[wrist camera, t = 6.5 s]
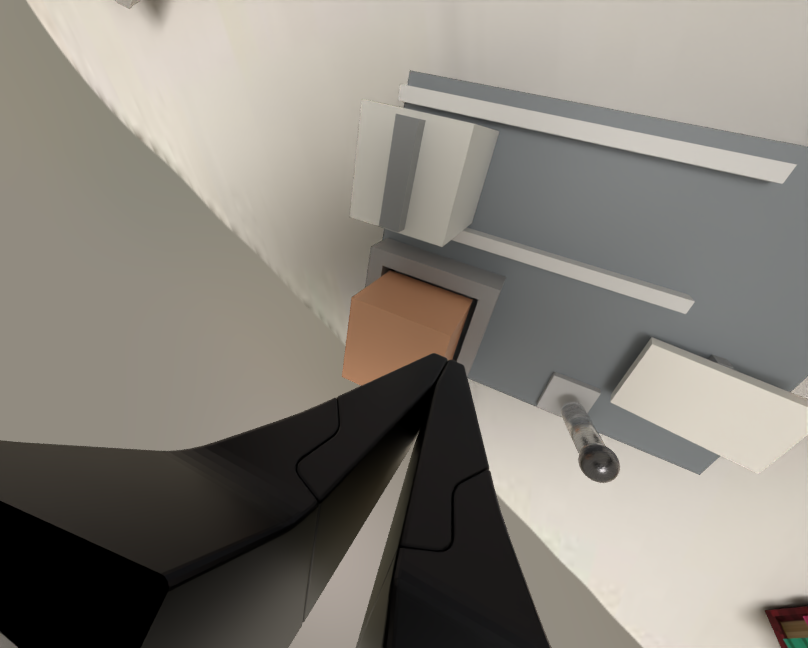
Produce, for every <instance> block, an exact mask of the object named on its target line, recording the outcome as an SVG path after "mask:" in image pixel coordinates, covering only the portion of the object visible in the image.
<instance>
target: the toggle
mask: <svg viewBox="0 0 808 648" xmlns="http://www.w3.org/2000/svg"><path fill="white" fill-rule="evenodd" d="M561 416H562V418H563V420H564V422H565V425H566V427H567V429H568V431H569V433H570V435H571V438H572V440H573V442H574V444H575V446H576V449H577V451H578V453H579V458H578V461H579V466H580V468H581V470H582V472H583V473H584V474H585V475H586V476H587V477H588V478H590V479H591V480H593V481H596V482H600V483H606V482H610V481H612V480H614V479H615V478H616V477H617V476H618V474H619V470H620V464H619V460H618V458H617V456H616V455H615V453H614V452H613V451H612V450H610V449H609V448H607V447H606V446H605V444H604V443H603V441H602V439H601V437H600V435H599V433H598V432H597V430H596V428H595V426H594V424H593V423H592V421H591V419H590V417H589V415H588V413H587V412H586V410H585V408H584V407H583V406H582V405H581V404H580V403H578V402H575V401H569V402H566V403H565V404H563V406H562V407H561Z"/></svg>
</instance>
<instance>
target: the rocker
mask: <svg viewBox="0 0 808 648" xmlns="http://www.w3.org/2000/svg"><path fill="white" fill-rule="evenodd" d="M610 402H611V403H613V404H615V405H617V406H619V407H621V408H623V409H625V410H627V411H629V412H631V413H633V414H635V415H637V416H639V417H642V418H644V419H646V420H648V421H650V422H652V423H654V424H656V425H658V426H660V427H662V428H664V429H666V430H668V431H670V432H672V433H674V434H676V435H679V436H681V437H683V438H685V439H687V440H689V441H691V442H693V443H695V444H697V445H699V446H701V447H703V448H705V449H707V450H709V451H711V452H713V453H715V454H718V455H720V456H722V457H724V458H726V459H728V460H730V461H732V462H734V463H736V464H738V465H740V466H742V467H744V468H746V469H748V470H750V471H752V472H754V473H757V474H760V473H761V472H762V471H763V470H765V469H766V468H767V467H768V466H770V465H771V464H772V463H773V462H775V461H776V460H777V459H778V458H780V457H781V456H782V455H783V454H785V453H786V452H787V451H788V450H790V449H791V448H792V447H793V446H795V445H796V444H797V443H798V442H800V441H801V440H802V439H803V438H805V437H806V436H807V435H808V399H805V398H803V397H800V396H798V395H795V394H793V393H790V392H788V391H785V390H783V389H780V388H778V387H775V386H773V385H770V384H768V383H765V382H763V381H760V380H758V379H755V378H753V377H750V376H748V375H745V374H743V373H740V372H738V371H735V370H733V369H730V368H728V367H725V366H723V365H720V364H718V363H715V362H713V361H710V360H708V359H705V358H703V357H700V356H698V355H695V354H693V353H690V352H688V351H685V350H683V349H680V348H678V347H675V346H673V345H670V344H668V343H665V342H663V341H660V340H658V339H655V338H653V337H651V339H650V340H649V342H648V343H647V344H646V346H645V347H644V349H643V350H642V351H641V353H640V354H639V356H638V357H637V358H636V360H635V361H634V363H633V364H632V365H631V367H630V368H629V370H628V371H627V372H626V374H625V375H624V377H623V378H622V379H621V381H620V382H619V384H618V385H617V386H616V388H615V389H614V391H613V392H612V394H611V400H610Z"/></svg>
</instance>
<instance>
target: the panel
mask: <svg viewBox="0 0 808 648" xmlns="http://www.w3.org/2000/svg"><path fill="white" fill-rule="evenodd" d="M398 100H399V101H402V102H405V104H404V108H406V109H411V110H415V111H420V112H424V113H429V114H433V115H438V116H442V117H446V118H451V119H455V120H460V121H464V122H469V123H473V124H477V125H480V126H484V127H487V128H490V129H493V130H497V131H499V134H498V137H497V141H496V144H495V148H494V151H493V154H492V158H491V161H490V164H489V168H488V171H487V174H486V178H485V181H484V184H483V188H482V191H481V194H480V198H479V201H478V204H477V208H476V211H475V214H474V218H473V221H472V223H471V224H470V225H469V226H468V227H466V228H465V229H464V230H463V231H462V232H460V233H459V234H458V235H457V236H455V237H454V238H453V239H452V240H450V241H449V242H448V243H447V244H445V245H444V246H443V247H441V246H437V245H434V244H431V243H428V242H425V241H422V240H419V239H416V238H413V237H410V236H407V235H403V234H400V233H397V232H394V231H391V230H388V229H385V228H384V234H383V240H382V241H381V242H379V243H377V244H375V245H373V246H371V251H370V258H369V265H368V272H367V278H366V285H365V288H366V287H367V286H369V285H370V284H371V283H373V282H374V281H376V280H377V279H379V278H380V277H382V276H383V275H384V274H386V273H387V272H389V271H390V270H391V271H394V272H397V273H400V274H402V275H405V276H408V277H411V278H414V279H416V280H419V281H422V282H425V283H428V284H430V285H433V286H436V287H439V288H442V289H444V290H447V291H450V292H453V293H456V294H458V295H461V296H464V297H467V298H470V299H473V300H472V303H471V306H470V309H469V312H468V315H467V318H466V321H465V324H464V327H463V330H462V333H461V335H460V338H459V341H458V344H457V347H456V350H455V353H454V356H453V359H452V360H453V361H455V362H458V363H460V364H463V365H464V367H465V370H466V375H467V378H469V379H471V380H474V381H476V382H478V383H481V384H483V385H486V386H488V387H490V388H493V389H495V390H498V391H500V392H502V393H505V394H507V395H510V396H512V397H514V398H517V399H519V400H522V401H524V402H526V403H529V404H531V405H534V406H536V407H538V408H541V409H543V410H545V411H548V412H550V413H553V414H555V415H557V416H560V417H562V416H561V407H562V406H563V404H565V403H566V402H569V401H575V402H578V403H580V404H581V405H582V406H583V407H584V408H585V410H586V412H587V413H588V415H589V417H590V419H591V421H592V423H593V424H594V426H595V428H596V430H597V432H598V433H601V434H603V435H605V436H608V437H610V438H613V439H615V440H617V441H620V442H622V443H625V444H627V445H629V446H632V447H634V448H637V449H639V450H641V451H644V452H646V453H649V454H651V455H653V456H656V457H658V458H661V459H663V460H665V461H668V462H670V463H673V464H675V465H677V466H680V467H682V468H684V469H687V470H689V471H692V472H694V473H696V474H699V475H700V474H701V473H702V472H703V471H704V470H705V469H707V468H708V467H709V466H710V465H711V464H712V463H713V462H714V461H715V460H716V459H718V458H719V457H720V455H718V454H715V453H713V452H711V451H709V450H707V449H705V448H703V447H701V446H699V445H697V444H695V443H693V442H691V441H689V440H687V439H685V438H683V437H681V436H679V435H676V434H674V433H672V432H670V431H668V430H666V429H664V428H662V427H660V426H658V425H656V424H654V423H652V422H650V421H648V420H646V419H644V418H642V417H639V416H637V415H635V414H633V413H631V412H629V411H627V410H625V409H623V408H621V407H619V406H617V405H615V404H613V403H611V402H610V400H611V394H612V392H613V391H614V389H615V388H616V386H617V385H618V384H619V382H620V381H621V379H622V378H623V377H624V375H625V374H626V372H627V371H628V370H629V368H630V367H631V365H632V364H633V363H634V361H635V360H636V358H637V357H638V356H639V354H640V353H641V351H642V350H643V349H644V347H645V346H646V344H647V343H648V342H649V340H650V339H651V337H653V338H655V339H658V340H660V341H663V342H665V343H668V344H670V345H673V346H675V347H678V348H680V349H683V350H685V351H688V352H690V353H693V354H695V355H698V356H700V357H703V358H705V359H708V360H710V361H713V362H715V363H718V364H720V365H723V366H725V367H728V368H730V369H733V370H735V371H738V372H740V373H743V374H745V375H748V376H750V377H753V378H755V379H758V380H760V381H763V382H765V383H768V384H770V385H773V386H775V387H778V388H780V389H783V390H785V391H788V392H791V391H792V390H793V389H794V388H795V387H796V386H798V385H799V384H800V383H801V382H802V381H803V380H804V379H805V378H806V377H807V376H808V147H807V146H801V145H796V144H791V143H786V142H781V141H775V140H770V139H765V138H760V137H755V136H749V135H744V134H739V133H734V132H728V131H723V130H718V129H713V128H708V127H702V126H697V125H692V124H687V123H681V122H676V121H671V120H666V119H661V118H655V117H650V116H645V115H640V114H634V113H629V112H624V111H619V110H614V109H608V108H603V107H598V106H593V105H587V104H582V103H577V102H572V101H567V100H561V99H556V98H551V97H546V96H541V95H535V94H530V93H525V92H520V91H514V90H509V89H504V88H499V87H494V86H488V85H483V84H478V83H473V82H467V81H462V80H457V79H452V78H447V77H441V76H436V75H431V74H426V73H420V72H415V71H410V73H409V79H408V85H403V84H400V89H399V95H398Z"/></svg>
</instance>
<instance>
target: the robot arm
mask: <svg viewBox="0 0 808 648" xmlns="http://www.w3.org/2000/svg"><path fill="white" fill-rule="evenodd" d="M417 435H418V436H417ZM416 437H417V439H416ZM415 439H416V442H415V445H414V448H413V452H412V455H411V458H410V462H409V465H408V469H407V472H406V476H405V479H404V483H403V486H402V490H401V493H400V497H399V500H398V504H397V507H396V511H395V514H394V517H393V521H392V524H391V528H390V532H389V535H388V538H387V542H386V545H385V549H384V552H383V555H382V559H381V562H380V566H379V569H378V573H377V576H376V580H375V583H374V587H373V590H372V594H371V597H370V600H369V604H368V607H367V611H366V614H365V618H364V622H363V625H362V628H361V632H360V635H359V639H358V642H357V646H356V648H551V646H550V643H549V641H548V639H547V636H546V634H545V631H544V629H543V626H542V623H541V621H540V618H539V615H538V613H537V610H536V607H535V605H534V602H533V599H532V596H531V594H530V591H529V588H528V586H527V583H526V580H525V577H524V575H523V572H522V570H521V567H520V564H519V561H518V559H517V556H516V553H515V551H514V548H513V545H512V542H511V540H510V537H509V534H508V532H507V528H506V525H505V522H504V519H503V517H502V513H501V510H500V506H499V503H498V499H497V496H496V492H495V489H494V485H493V480H492V476H491V472H490V471H489V465H488V461H487V456H486V452H485V448H484V444H483V440H482V436H481V432H480V428H479V424H478V420H477V415H476V411H475V407H474V403H473V399H472V395H471V391H470V387H469V383H468V379H467V375H466V370H465V367H464V365H463V364H460V363H458V362H455V361H453V360H449V361H448V359H447V358H446V357H443V356H441V355H438V354H436V353H432V354H429V355H427V356H425V357H423V358H421V359H418V360H416V361H414V362H412V363H410V364H408V365H405V366H403V367H401V368H399V369H397V370H394V371H392V372H390V373H388V374H386V375H384V376H381V377H379V378H377V379H375V380H373V381H371V382H368V383H366V384H364V385H362V386H360V387H357V388H355V389H353V390H351V391H349V392H347V393H344V394H342V395H340V396H338V397H337V398H333V399H331V400H329V401H327V402H324V403H322V404H320V405H318V406H315V407H313V408H310V409H308V410H306V411H304V412H301V413H298V414H295V415H293V416H290V417H288V418H284V419H282V420H279V421H276V422H273V423H270V424H267V425H264V426H261V427H259V428H256V429H253V430H250V431H247V432H244V433H241V434H238V435H235V436H232V437H229V438H226V439H223V440H220V441H217V442H214V443H210V444H207V445H204V446H200V447H195V448H191V449H184V450H177V451H152V450H137V449H120V448H105V447H88V446H72V445H56V444H39V443H23V442H11V441H1V440H0V648H288V647H289V646H290V644H291V642H292V641H293V639H294V638H295V636H296V634H297V632H298V631H299V629H300V628H301V626H302V622H304V621H305V619H306V618H307V616H308V615H309V613H310V611H311V609H312V608H313V606H314V605H315V603H316V601H317V600H318V598H319V596H320V595H321V593H322V591H323V590H324V588H325V587H326V585H327V583H328V582H329V580H330V578H331V577H332V575H333V574H334V572H335V570H336V569H337V567H338V565H339V563H340V562H341V561H342V559H343V557H344V556H345V554H346V552H347V551H348V549H349V547H350V546H351V544H352V543H353V541H354V539H355V538H356V536H357V534H358V533H359V531H360V529H361V528H362V526H363V524H364V522H365V521H366V520H367V518H368V516H369V515H370V513H371V511H372V509H373V508H374V506H375V505H376V503H377V502H378V500H379V498H380V496H381V495H382V493H383V492H384V490H385V488H386V487H387V485H388V484H389V482H390V480H391V479H392V477H393V475H394V474H395V472H396V470H397V469H398V467H399V466H400V464H401V462H402V460H403V459H404V457H405V455H406V454H407V452H408V451H409V449H410V448H411V445H412V444H413V442H414V440H415Z"/></svg>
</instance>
